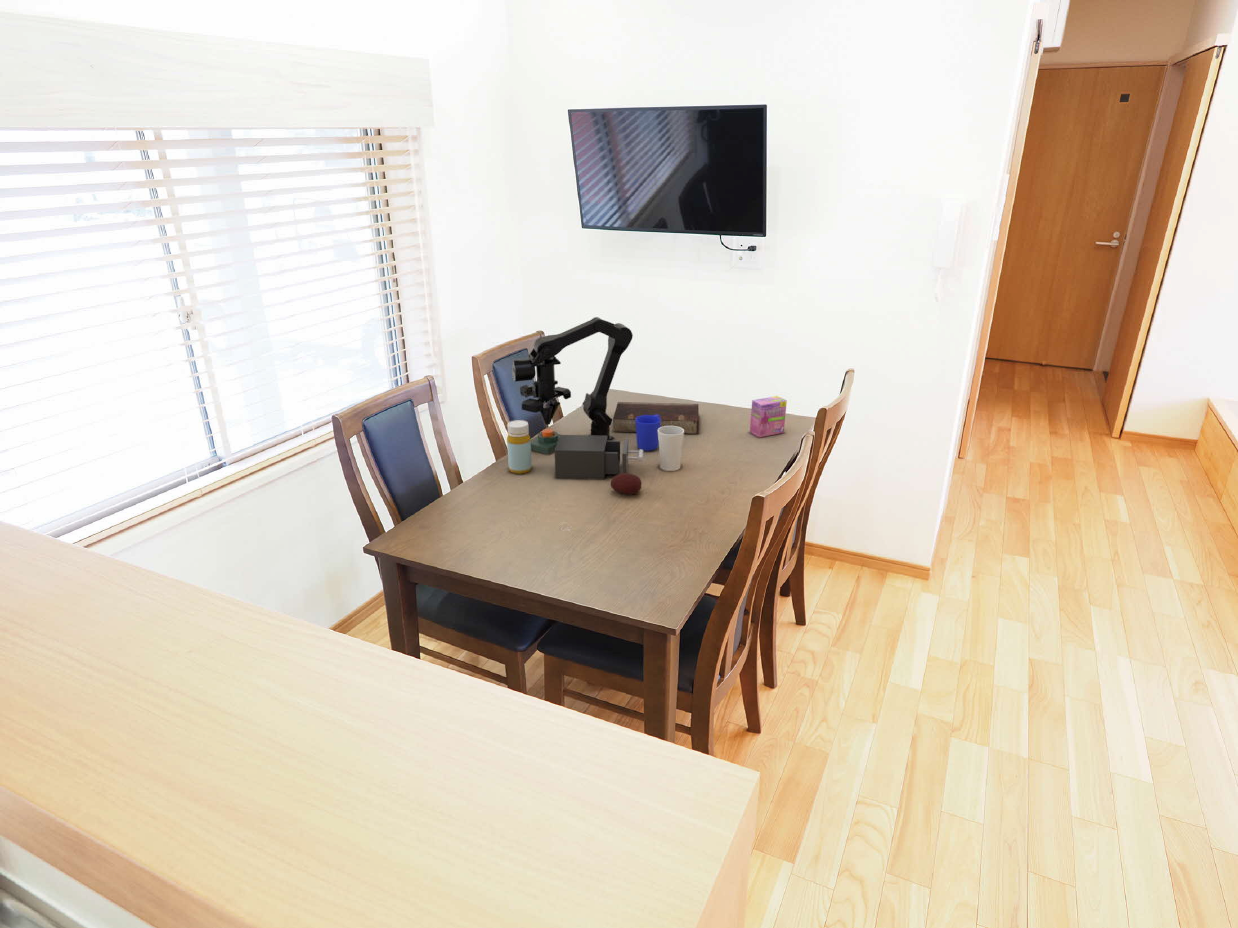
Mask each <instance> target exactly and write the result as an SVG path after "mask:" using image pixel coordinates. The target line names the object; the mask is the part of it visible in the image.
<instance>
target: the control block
mask: <svg viewBox="0 0 1238 928" xmlns="http://www.w3.org/2000/svg"><path fill="white" fill-rule="evenodd" d="M553 432H554V436H551V437H544V436H543V434H542V431H540V432H538V434H537V436H536V437H534V438H533V439H530V440H531V451H533V452H537V453H541V454H544V455H550V454H552V453H555V452H554V450H555V447H556V445H557V442H558V439H559V437H560V435H562V434H561V433H559V432H557V431H555V430H553Z"/></svg>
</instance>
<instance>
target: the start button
mask: <svg viewBox="0 0 1238 928" xmlns="http://www.w3.org/2000/svg"><path fill="white" fill-rule="evenodd" d="M553 431H554V429H553V428H545V429H542V431H541V432H542V434H543V436H544V437H551V436H554V432H555V431H554V432H553Z"/></svg>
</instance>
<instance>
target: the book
mask: <svg viewBox="0 0 1238 928" xmlns="http://www.w3.org/2000/svg"><path fill="white" fill-rule="evenodd" d="M699 409H700V408H699V403H677V402H676V403H675V402H671V403H670V402H636V401H635V402H634V401H633V402H630V401H629V402H628V401H617V404H616V407H615V410H614V414H613V418H612V431H613V432H625V433H636V423H635V419H636V418H637V417H639V416H643V415H653V416H654V415H659V418H660V419H661V425H660V427H663V426H678V427H681V428H683V429H684V434H699V429H700V428H699V427H700V416H699V415H700V414H699Z"/></svg>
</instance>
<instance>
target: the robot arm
mask: <svg viewBox="0 0 1238 928" xmlns="http://www.w3.org/2000/svg"><path fill="white" fill-rule="evenodd" d="M597 333H601V334H603V335H605V336H607V351H606V354H605V357H604V360H603V363H602V366H601V368H600V372H599V374H598V377H597V380H596V383H595V386H594V388H593V390H592V392H591V393H588V392H586V393H585V397H584V400H583V402H582V406H583V407H582V410H583V413H584V414H585V415H586V416H587V417H588V418H589V419H590V420H591V423H590V435H601V436H607V441H612V440H614V436H613V435H611V433H610V432H611V431H610V429H611V428H610V427H611V425H612V424H613V418H612V417H611V416H610V415H609V414H608V413H607V407H608V394H609V390H610V388H611V384H612V382H613V380H614V376H615V373H616V370H617V368H618V365H619V362H620V360H621V357H622V356H623V354H624V352H626V350H627V349H628V348H629V346H630V344H631V342H632V340H633V337H634V335H633V331H632V330H631V329H630V328H629V327H627V326H626V325H625V324H623V323H621V322H617V323H612V322H610V321H607V320H605V319H602V318H600V317H598V316H595V317H593V318H591V319H590V320H588V321H585V322H583V323H580V324H578V325H576V326H574V327H572V328H569V329H567V330H565V331H563V332H560V333H557V334H548V335H544V336H540V337H538V338H536V339H535V341H534V343H533V348H532V350H531V351H530V353H529V354H528V355H527V358H521V359H520V358H519V359H517V358H516V359H515V358H514V359H512V365H511V375H512V380H513V382H515V383H516V382H525V381H533V379H535V377H536V380H534V381H533V383H532V384H530V385H527V384H524V385H520V387H519V393H520V396H521V397H524V398H525V399H526V398H527V399H526V400H523V401H522V402H521V404H520V405H521V410H522V411H525V412H529V413H534V414H535V413H539V412H540V414H541V416H542V418H543V421H544V423H545V425H546V426H549V425H551V423H552V420H553V418H554V416H555V414H556V412H557V410H558V408H559V406H561V402H559V401H558V398H560V397H562V398H563V399H564V400H568V399H571V398H572V392H571V390H570V388H566V387H561V386H557V385H558V384H559V381H558V380H556V372H555V365H556V366H557V365H561V361H560V360H559V358H557V357H556V356H557V355H558V354H560V352H562V351H563V350H564V349H565V348H566V347H568V346H570V345H571V346H572V345H573V344H575V343H577V342H580V341H582V340H584V339H587V338H589V337H591V336H593V335H595V334H597ZM531 396H533V397H532V398H528V397H531ZM536 398H537V399H536Z"/></svg>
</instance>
